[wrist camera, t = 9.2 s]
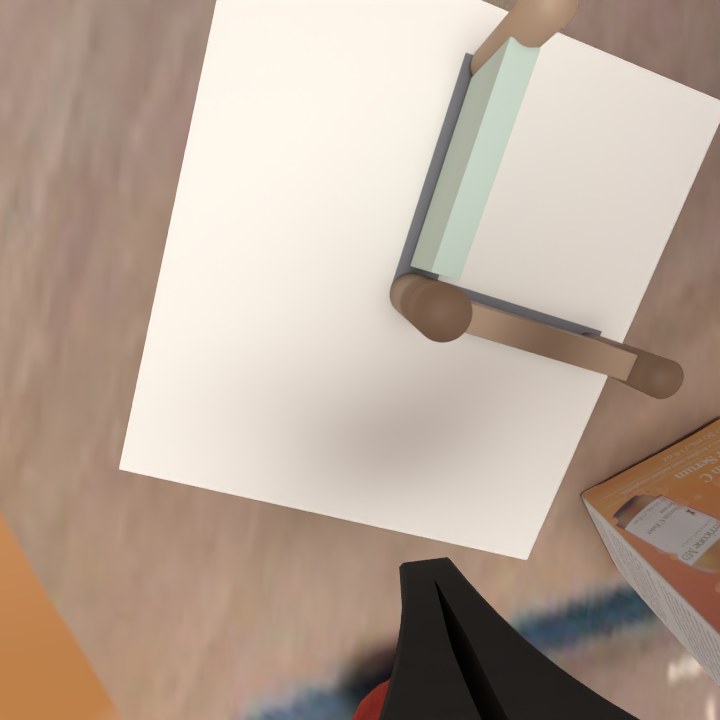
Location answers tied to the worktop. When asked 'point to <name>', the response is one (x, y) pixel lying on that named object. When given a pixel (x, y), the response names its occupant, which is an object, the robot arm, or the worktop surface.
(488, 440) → the card
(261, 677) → the worktop surface
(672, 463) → the small box
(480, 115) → the panel
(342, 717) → the worktop surface
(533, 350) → the fixed fence
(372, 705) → the onion
